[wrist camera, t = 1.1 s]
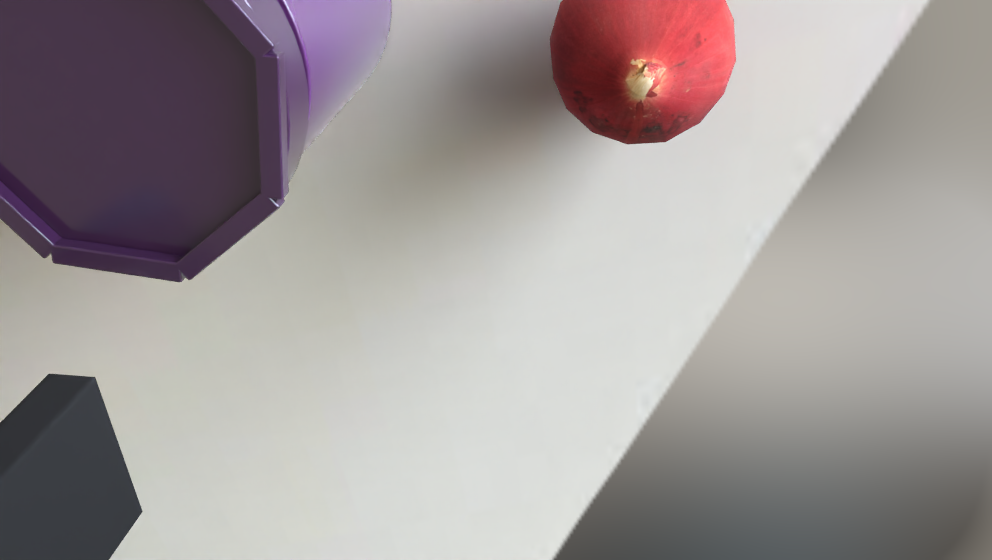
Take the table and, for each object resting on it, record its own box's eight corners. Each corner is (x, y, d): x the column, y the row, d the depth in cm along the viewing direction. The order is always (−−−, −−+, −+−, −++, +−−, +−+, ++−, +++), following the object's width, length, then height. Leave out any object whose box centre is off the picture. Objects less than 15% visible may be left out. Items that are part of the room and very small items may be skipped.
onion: (725, 96, 32) (750, 183, 26) (566, 109, 33) (549, 196, 27) (724, -74, 30) (751, -29, 23) (551, -55, 31) (527, -5, 24)
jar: (277, 168, 36) (124, 336, 25) (95, -26, 33) (-166, 70, 22) (453, 20, 32) (363, 143, 22) (264, -213, 30) (49, -208, 19)
